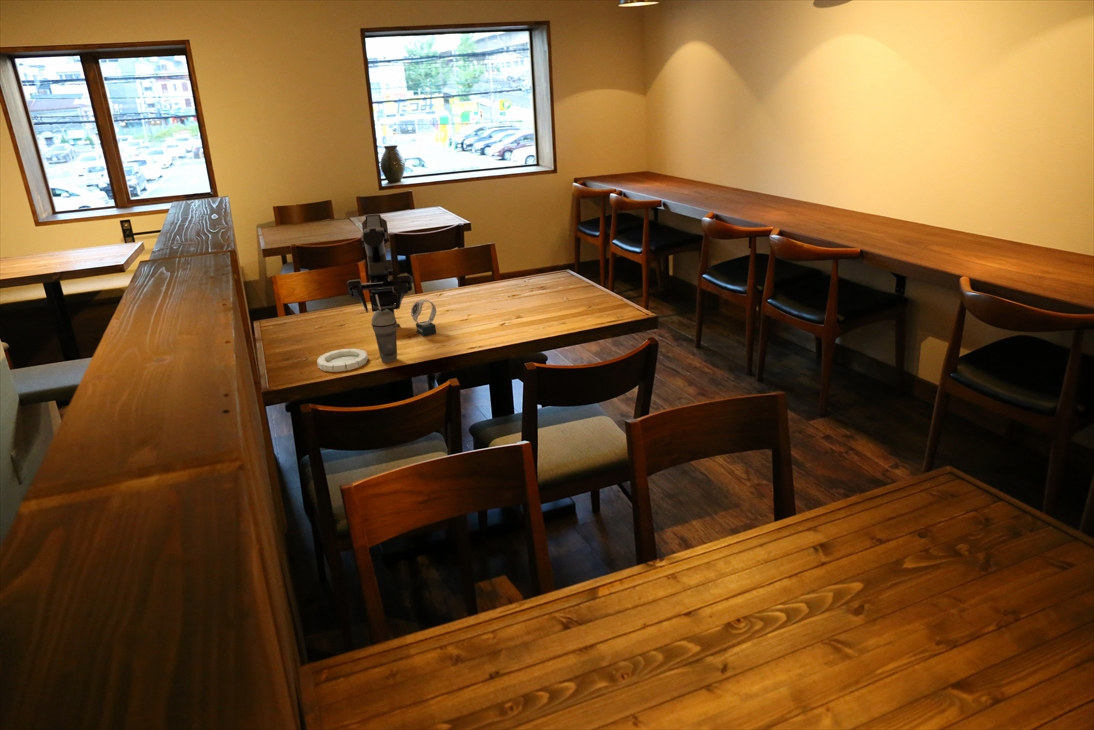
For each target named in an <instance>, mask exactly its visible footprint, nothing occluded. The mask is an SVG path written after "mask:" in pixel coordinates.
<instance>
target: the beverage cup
mask: <svg viewBox="0 0 1094 730" xmlns="http://www.w3.org/2000/svg"><path fill="white" fill-rule="evenodd" d="M376 299H377V303H378V307H379V310H378V311H375V312H373V315H372V317H371V326H372V330H373V332H374V335H375V340H376V344H377V348H378V353H379V357H380V360H381V362H382V363H383V364H389V363H395V362H397V360H398V349H397V343H398V342H397V327H396V326H397V324H396V323H398V321H397V318H396V315H395V316H394V314H395V313H394V314H393V313H392V312H391V311H389V310H387V309H381V308H380V304H379V300H378V296H377V295H376Z"/></svg>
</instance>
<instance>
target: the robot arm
mask: <svg viewBox="0 0 1094 730" xmlns="http://www.w3.org/2000/svg"><path fill="white" fill-rule="evenodd" d="M364 216H365V219H364V220H363V221H362V222H361V227H362V234H361V245H362V247H365V252H366V257H367V260H366V261H367V266H368V272H367V274H368V281H369V282H362V281H361V279H351V280H348V281H347V282H346V286H347V290H348V295H349V297H350V298H354V299H355V300H358V301H359V302H360V303H361V305H362V306H363V308H364V311H365V312H366V313H369V308H368V305H367V300H366V296H365V294H364V291H367V290H371V293H369V299H370V306H371V312H372V313H375V312H376V311H378V310H379V307H378V303H377V299H376V295H377V296H378V300H379V304H380V308H381V309H387V310H389V311H391V312H392V313H393V314H394V316H395V317H396V314H395V310H400V308H401V305H402V301H403V299H404V297H405V294H409V292H411V291H412V290H413V283H412V277H411V275H410V274H399V275H397V279H395V280H390V276H389V275H390V273H389V272H393V263H392V259H387V258H388V257H387V253H386V248H387V246H386V245H388V244H389V242H390V236H389V229H388V221H387V220H386V219H385V218H383V217H381V214H380V213H373V214H366V215H364ZM394 288H396V289H397V293H396V291H394ZM396 324H397V326H396V328H398V327H400V326H401V324H399V323H398V322H397V323H396Z"/></svg>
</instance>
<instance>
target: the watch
mask: <svg viewBox="0 0 1094 730" xmlns="http://www.w3.org/2000/svg"><path fill="white" fill-rule="evenodd" d="M413 303H414V304H413V305H412V307H411V310H410V315H411V317H412V319H413V321H414V322H415V326H416V333H417V334H419V335H420V336H422V337H423V338H425V337H429V336H433V335H437V328H436V324H435V323H433V322H434V320H435V317H436V315H437V308H436V305H435V304H434V302H432V301H430V300H429V299H420V300H417V301H415V302H413ZM424 303H430V305H431V306H432V307H431V312H430V316H429V317H428V320H425V321H418V317H420V315H421V313H422V311H423V306H424Z"/></svg>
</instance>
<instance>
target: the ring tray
mask: <svg viewBox="0 0 1094 730" xmlns="http://www.w3.org/2000/svg"><path fill="white" fill-rule="evenodd" d="M368 359H369V357H368V353H367V351H365V350H363V349H359V348H344V349H342V348H341V349H337V350H332V351H328V352H326V353H324V354H321V355H320V356H319V357H318V358H317V360H316V362H317V364H316V365H317V367H318V369H320V370H321V371H324V372H333V373H338V372H346V371H351V370H354V369H355V370H356V369H358V368H360V367H362V366H364V365H365V364H367V363H368Z"/></svg>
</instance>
